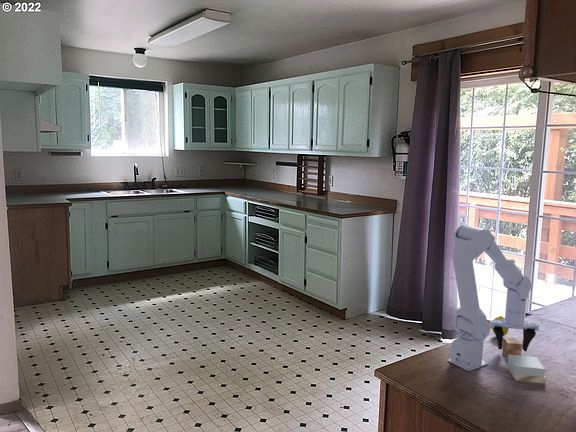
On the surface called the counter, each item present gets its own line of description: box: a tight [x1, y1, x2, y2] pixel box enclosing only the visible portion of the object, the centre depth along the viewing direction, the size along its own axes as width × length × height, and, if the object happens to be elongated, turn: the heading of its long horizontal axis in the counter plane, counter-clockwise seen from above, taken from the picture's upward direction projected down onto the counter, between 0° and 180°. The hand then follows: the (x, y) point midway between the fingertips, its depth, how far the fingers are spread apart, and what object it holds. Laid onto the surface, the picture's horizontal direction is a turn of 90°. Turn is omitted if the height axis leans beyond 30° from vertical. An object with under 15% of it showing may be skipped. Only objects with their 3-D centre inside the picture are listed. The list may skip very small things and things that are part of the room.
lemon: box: [491, 315, 510, 337], centre depth 168 cm, size 6×6×8 cm
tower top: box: [507, 354, 546, 377], centre depth 140 cm, size 8×8×2 cm
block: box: [502, 336, 523, 358], centre depth 154 cm, size 4×4×5 cm
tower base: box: [507, 364, 547, 384], centre depth 140 cm, size 8×8×2 cm
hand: (511, 349), depth 154 cm, fingers open, 7 cm apart
